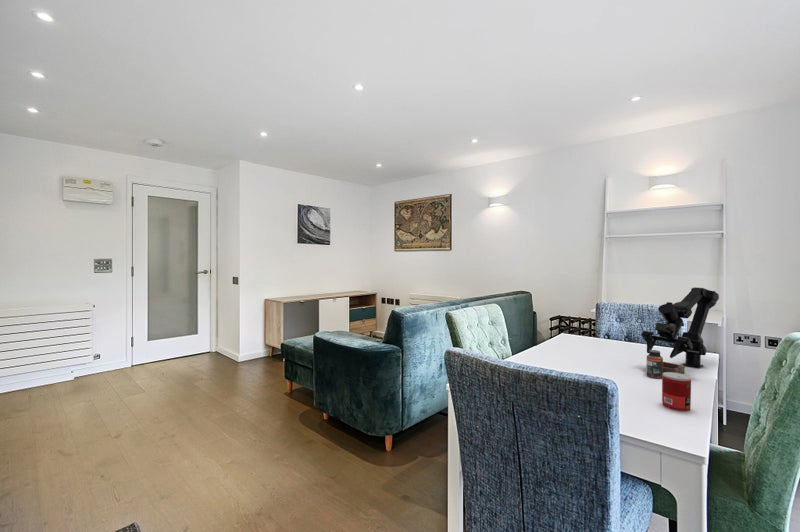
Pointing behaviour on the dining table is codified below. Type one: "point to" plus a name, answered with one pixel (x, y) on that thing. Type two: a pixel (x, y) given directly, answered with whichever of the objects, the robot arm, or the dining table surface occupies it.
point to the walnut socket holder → (673, 368)
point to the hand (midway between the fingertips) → (658, 355)
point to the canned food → (676, 391)
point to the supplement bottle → (654, 364)
